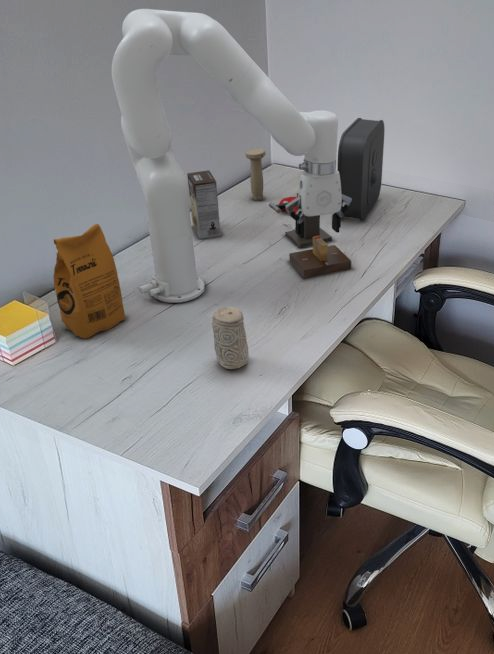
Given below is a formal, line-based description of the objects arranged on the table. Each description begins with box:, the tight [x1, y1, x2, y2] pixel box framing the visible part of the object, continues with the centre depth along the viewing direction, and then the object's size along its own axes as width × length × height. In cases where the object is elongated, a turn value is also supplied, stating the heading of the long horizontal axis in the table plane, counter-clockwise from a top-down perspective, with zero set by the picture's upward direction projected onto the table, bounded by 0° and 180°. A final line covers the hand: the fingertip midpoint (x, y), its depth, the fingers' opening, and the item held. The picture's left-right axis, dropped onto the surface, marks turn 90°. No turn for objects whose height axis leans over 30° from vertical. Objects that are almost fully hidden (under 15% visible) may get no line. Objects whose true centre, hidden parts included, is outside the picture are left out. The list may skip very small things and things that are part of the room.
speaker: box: [336, 117, 385, 221], centre depth 196 cm, size 25×9×25 cm, turn 162°
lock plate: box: [288, 244, 352, 280], centre depth 171 cm, size 13×10×3 cm
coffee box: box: [186, 169, 221, 240], centre depth 184 cm, size 9×6×16 cm
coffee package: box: [52, 223, 126, 340], centre depth 142 cm, size 10×12×22 cm
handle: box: [245, 147, 266, 201], centre depth 205 cm, size 5×6×15 cm
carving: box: [211, 306, 249, 370], centre depth 133 cm, size 6×8×12 cm
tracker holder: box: [278, 196, 297, 214], centre depth 202 cm, size 12×4×10 cm
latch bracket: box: [284, 192, 333, 249], centre depth 182 cm, size 10×9×13 cm
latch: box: [268, 201, 290, 214], centre depth 177 cm, size 12×5×2 cm, turn 119°
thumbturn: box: [312, 235, 329, 262], centre depth 169 cm, size 6×2×5 cm, turn 24°
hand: (318, 233), depth 167 cm, fingers open, 9 cm apart
